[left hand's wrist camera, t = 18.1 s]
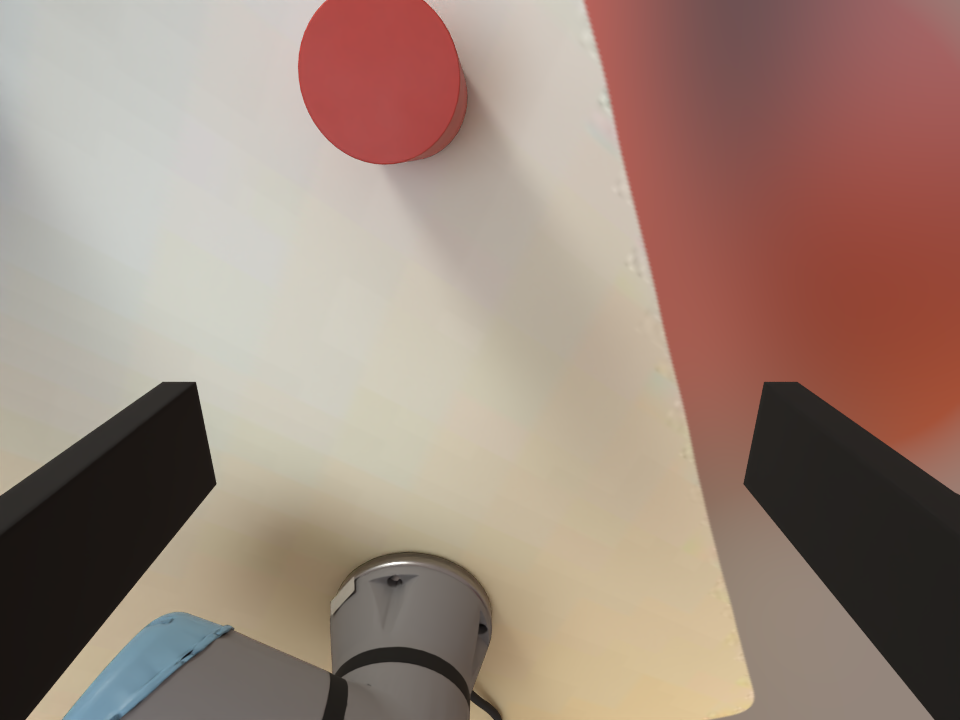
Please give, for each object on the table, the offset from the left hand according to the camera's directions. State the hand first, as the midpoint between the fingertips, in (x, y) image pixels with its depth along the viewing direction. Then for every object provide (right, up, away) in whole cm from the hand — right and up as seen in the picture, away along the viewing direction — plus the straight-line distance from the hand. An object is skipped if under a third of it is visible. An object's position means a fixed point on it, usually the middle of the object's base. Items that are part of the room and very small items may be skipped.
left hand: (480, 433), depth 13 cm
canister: (-5, +19, +23) cm, 30 cm away
